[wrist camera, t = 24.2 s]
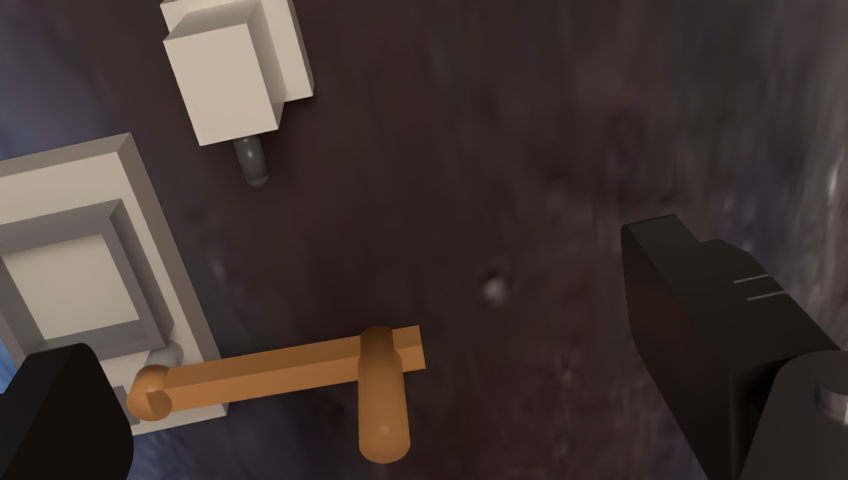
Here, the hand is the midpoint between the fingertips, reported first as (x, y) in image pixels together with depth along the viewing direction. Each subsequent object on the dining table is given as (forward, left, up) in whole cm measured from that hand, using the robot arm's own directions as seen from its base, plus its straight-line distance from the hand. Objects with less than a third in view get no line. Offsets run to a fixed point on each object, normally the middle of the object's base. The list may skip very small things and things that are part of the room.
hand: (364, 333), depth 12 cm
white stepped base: (-11, +15, -25) cm, 32 cm away
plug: (-1, +5, -26) cm, 26 cm away
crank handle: (-14, +7, -21) cm, 26 cm away
